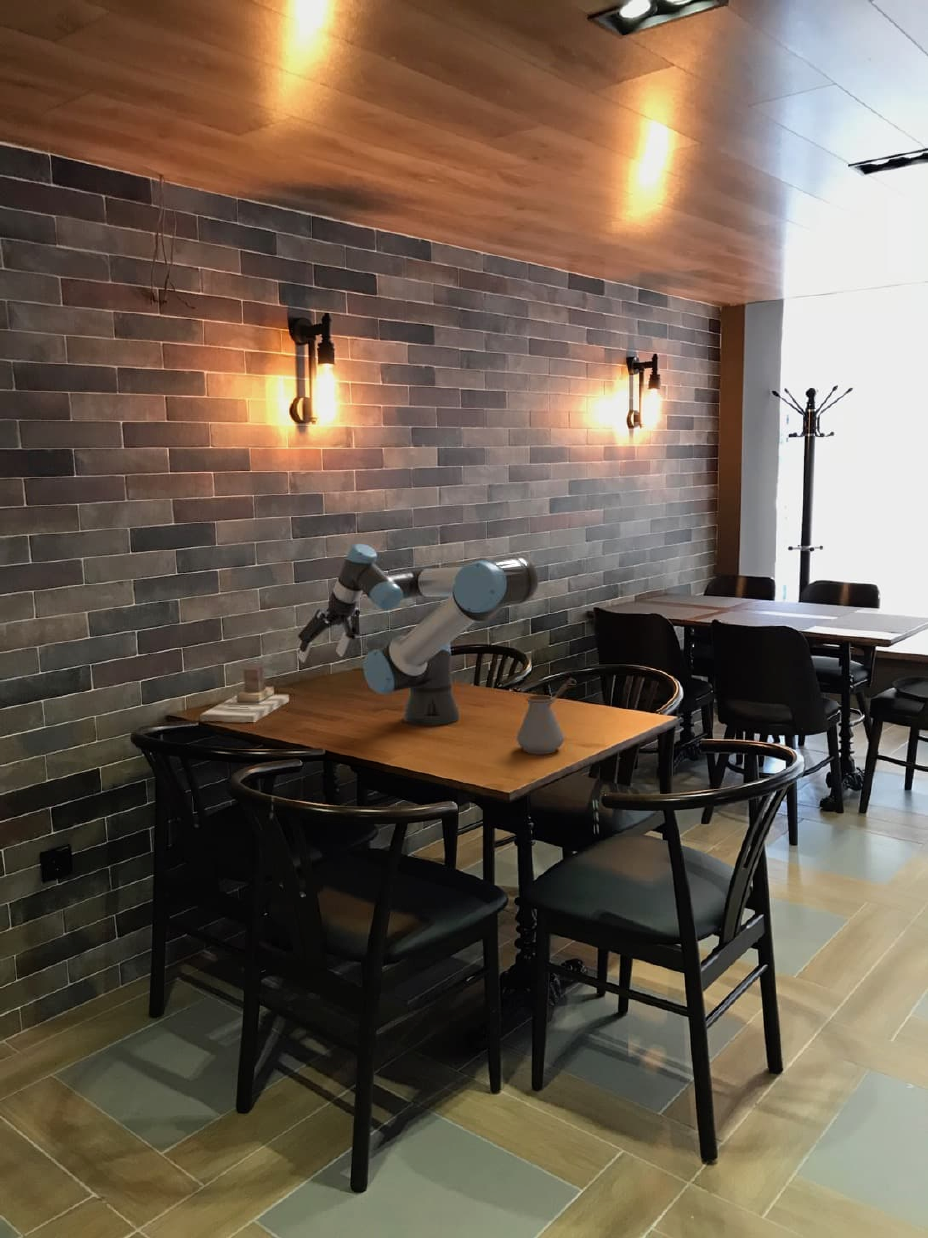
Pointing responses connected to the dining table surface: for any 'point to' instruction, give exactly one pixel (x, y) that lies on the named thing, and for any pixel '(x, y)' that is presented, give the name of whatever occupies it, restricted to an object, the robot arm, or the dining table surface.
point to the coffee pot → (541, 725)
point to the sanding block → (254, 686)
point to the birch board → (243, 709)
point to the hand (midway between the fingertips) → (320, 656)
